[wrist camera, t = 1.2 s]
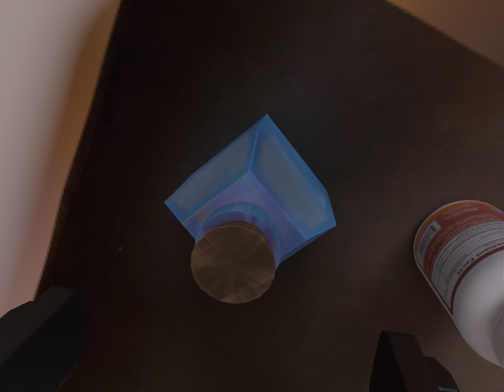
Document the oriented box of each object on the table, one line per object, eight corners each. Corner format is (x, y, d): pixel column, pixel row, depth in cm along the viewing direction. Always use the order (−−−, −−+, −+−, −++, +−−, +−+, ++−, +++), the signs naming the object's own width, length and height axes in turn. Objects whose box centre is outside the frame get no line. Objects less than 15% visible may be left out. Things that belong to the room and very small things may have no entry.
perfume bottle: (252, 243, 28) (222, 363, 16) (193, 173, 27) (117, 249, 15) (326, 190, 26) (352, 282, 15) (266, 113, 25) (244, 148, 14)
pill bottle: (522, 268, 26) (675, 399, 16) (427, 297, 28) (510, 437, 17) (497, 182, 25) (647, 263, 14) (398, 217, 26) (469, 315, 16)
